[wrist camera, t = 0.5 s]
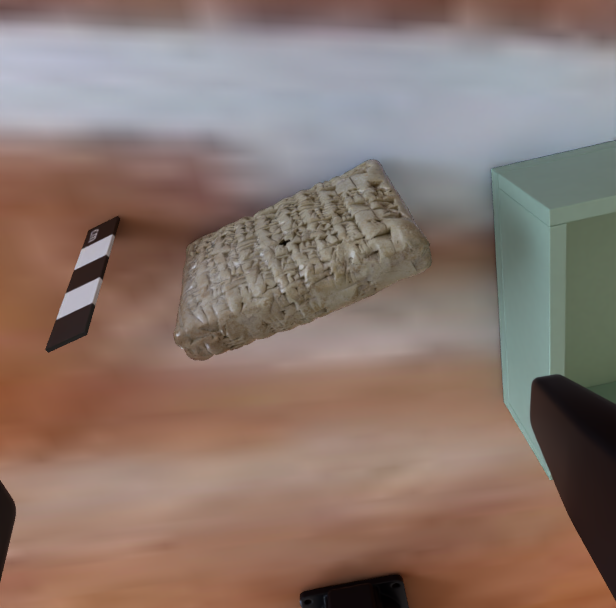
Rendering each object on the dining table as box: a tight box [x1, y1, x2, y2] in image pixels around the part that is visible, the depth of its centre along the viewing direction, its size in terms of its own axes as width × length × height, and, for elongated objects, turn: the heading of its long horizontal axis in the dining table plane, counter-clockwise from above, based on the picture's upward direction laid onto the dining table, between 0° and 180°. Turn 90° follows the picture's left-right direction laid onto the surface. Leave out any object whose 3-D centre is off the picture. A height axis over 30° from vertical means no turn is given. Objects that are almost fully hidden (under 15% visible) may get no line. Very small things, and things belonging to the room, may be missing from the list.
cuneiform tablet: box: [45, 159, 432, 360], centre depth 20 cm, size 7×4×12 cm
